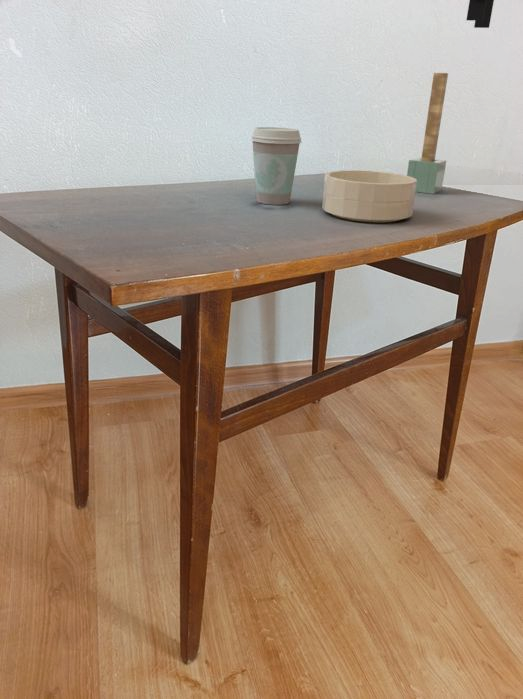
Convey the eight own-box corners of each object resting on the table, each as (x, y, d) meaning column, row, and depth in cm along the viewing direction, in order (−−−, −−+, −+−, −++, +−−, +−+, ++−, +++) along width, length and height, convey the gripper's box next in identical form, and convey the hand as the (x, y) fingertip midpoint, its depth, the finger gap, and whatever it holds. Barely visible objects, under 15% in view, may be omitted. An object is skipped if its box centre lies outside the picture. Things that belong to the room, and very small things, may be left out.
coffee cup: (238, 200, 103) (240, 127, 98) (271, 195, 109) (274, 126, 104) (275, 208, 98) (279, 131, 93) (307, 203, 104) (312, 130, 99)
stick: (430, 190, 122) (448, 73, 113) (427, 191, 121) (445, 73, 112) (419, 189, 123) (436, 73, 114) (416, 190, 122) (433, 72, 113)
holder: (441, 190, 123) (446, 160, 121) (433, 194, 118) (438, 162, 116) (413, 187, 126) (417, 157, 123) (404, 190, 121) (408, 159, 118)
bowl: (422, 213, 99) (428, 177, 97) (394, 228, 88) (399, 187, 85) (343, 202, 106) (346, 167, 103) (307, 215, 94) (310, 176, 92)
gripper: (485, -97, 112) (464, 29, 121) (472, -141, 91) (448, 16, 100) (528, -100, 110) (503, 30, 118) (524, -145, 89) (494, 16, 97)
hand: (478, 24), depth 109 cm, fingers open, 13 cm apart
